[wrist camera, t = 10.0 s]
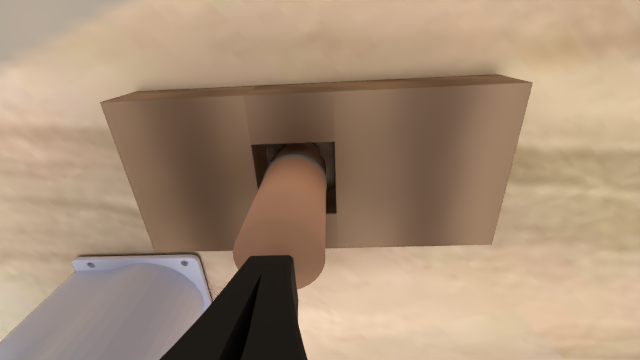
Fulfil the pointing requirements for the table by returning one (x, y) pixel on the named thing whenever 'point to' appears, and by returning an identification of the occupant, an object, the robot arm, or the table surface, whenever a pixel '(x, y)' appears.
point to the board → (350, 157)
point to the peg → (289, 213)
